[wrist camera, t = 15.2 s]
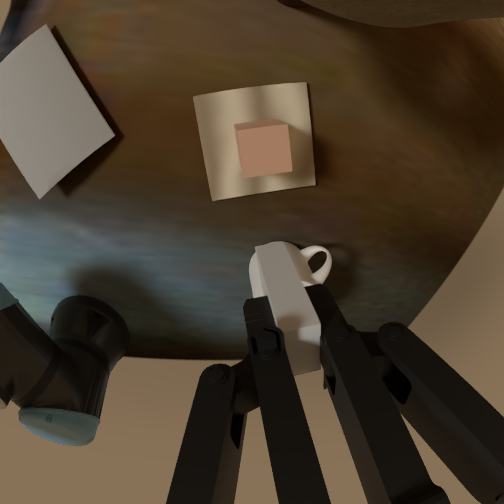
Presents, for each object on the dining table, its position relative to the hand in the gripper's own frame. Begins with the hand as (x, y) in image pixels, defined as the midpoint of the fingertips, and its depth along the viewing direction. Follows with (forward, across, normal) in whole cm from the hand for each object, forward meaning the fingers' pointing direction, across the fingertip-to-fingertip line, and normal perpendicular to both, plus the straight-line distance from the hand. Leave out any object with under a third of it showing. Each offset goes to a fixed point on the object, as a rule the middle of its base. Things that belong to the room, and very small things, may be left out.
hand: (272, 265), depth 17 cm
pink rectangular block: (+24, +3, +3) cm, 25 cm away
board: (+25, +3, +3) cm, 26 cm away
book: (+27, -25, +14) cm, 39 cm away
